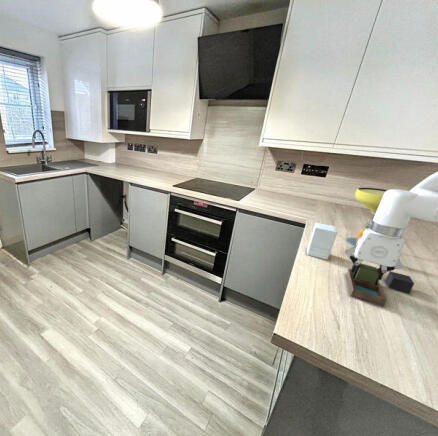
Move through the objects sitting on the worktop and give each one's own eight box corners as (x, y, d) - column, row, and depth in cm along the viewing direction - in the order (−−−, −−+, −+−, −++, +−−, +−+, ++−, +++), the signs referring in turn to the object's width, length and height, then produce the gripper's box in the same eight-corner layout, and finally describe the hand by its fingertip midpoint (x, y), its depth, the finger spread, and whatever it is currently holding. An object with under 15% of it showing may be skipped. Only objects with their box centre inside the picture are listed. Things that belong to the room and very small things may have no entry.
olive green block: (371, 277, 81) (376, 267, 80) (374, 284, 77) (379, 274, 76) (353, 272, 84) (357, 262, 82) (355, 278, 80) (359, 268, 78)
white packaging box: (326, 253, 101) (336, 226, 96) (327, 260, 95) (338, 232, 91) (306, 247, 105) (315, 221, 100) (306, 254, 99) (315, 227, 94)
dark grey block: (404, 285, 81) (409, 276, 80) (408, 293, 77) (414, 283, 76) (385, 280, 84) (389, 271, 82) (388, 287, 80) (393, 277, 78)
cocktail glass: (394, 248, 108) (420, 195, 99) (378, 257, 99) (405, 200, 90) (348, 232, 122) (367, 186, 113) (331, 239, 114) (349, 189, 105)
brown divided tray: (374, 282, 82) (377, 276, 81) (383, 306, 71) (386, 299, 70) (346, 274, 86) (348, 268, 85) (350, 296, 75) (353, 289, 74)
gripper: (353, 225, 75) (334, 273, 82) (429, 241, 66) (401, 293, 73) (350, 219, 81) (332, 264, 88) (420, 232, 72) (395, 281, 79)
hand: (364, 276), depth 80 cm, fingers closed on olive green block, 4 cm apart
